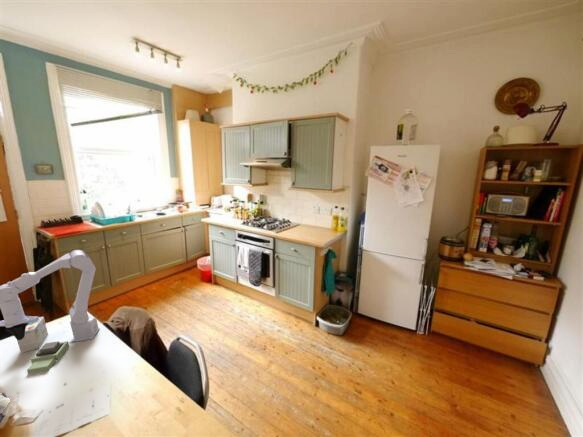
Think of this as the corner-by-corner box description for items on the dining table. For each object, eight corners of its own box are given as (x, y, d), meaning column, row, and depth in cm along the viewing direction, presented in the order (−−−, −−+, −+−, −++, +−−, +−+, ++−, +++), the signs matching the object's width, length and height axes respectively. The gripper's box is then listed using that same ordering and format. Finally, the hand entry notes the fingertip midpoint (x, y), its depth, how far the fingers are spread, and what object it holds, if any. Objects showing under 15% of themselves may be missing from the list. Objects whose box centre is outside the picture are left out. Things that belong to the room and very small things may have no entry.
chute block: (63, 350, 116) (61, 340, 114) (57, 358, 111) (54, 348, 109) (45, 353, 114) (42, 343, 112) (37, 361, 109) (34, 351, 108)
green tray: (69, 346, 118) (68, 341, 117) (51, 369, 105) (49, 363, 104) (44, 350, 115) (43, 345, 114) (23, 374, 102) (21, 368, 102)
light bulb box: (31, 338, 122) (25, 319, 120) (49, 334, 125) (44, 315, 123) (20, 353, 113) (13, 333, 110) (39, 348, 116) (34, 329, 113)
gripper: (-18, 320, 99) (-8, 348, 102) (27, 314, 103) (35, 341, 106) (-4, 309, 106) (5, 336, 109) (38, 304, 109) (46, 330, 113)
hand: (21, 338), depth 108 cm, fingers closed
